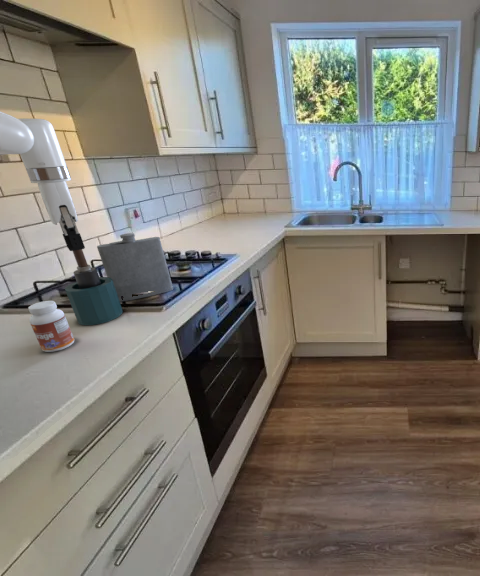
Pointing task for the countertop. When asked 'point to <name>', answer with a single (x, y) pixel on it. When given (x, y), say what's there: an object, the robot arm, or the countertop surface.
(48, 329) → the pill bottle
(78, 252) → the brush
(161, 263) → the hip flask
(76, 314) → the jar
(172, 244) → the countertop surface
